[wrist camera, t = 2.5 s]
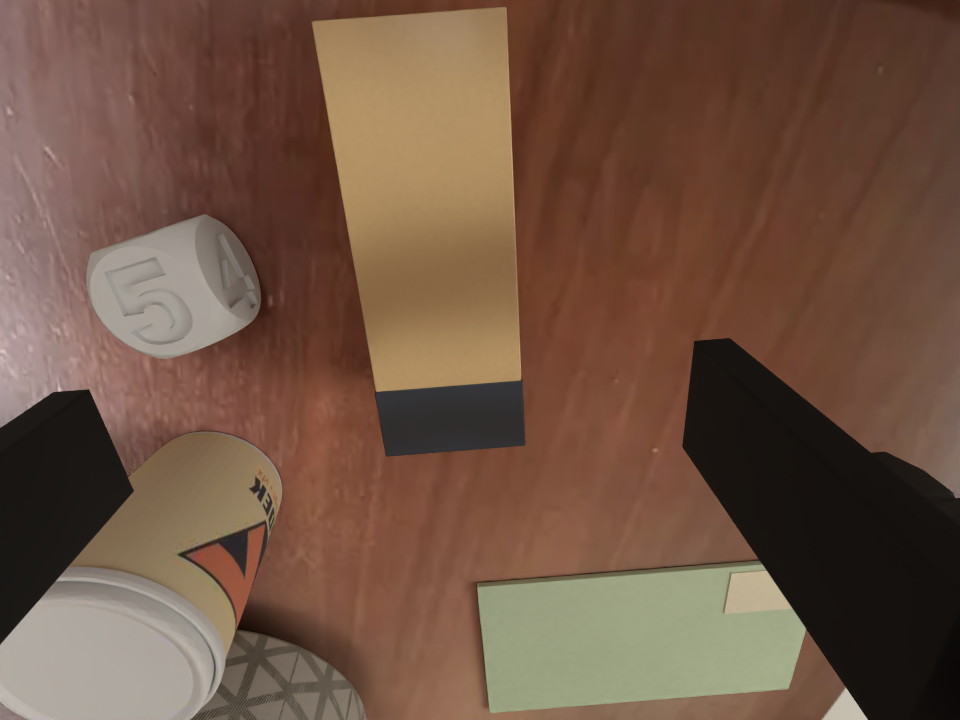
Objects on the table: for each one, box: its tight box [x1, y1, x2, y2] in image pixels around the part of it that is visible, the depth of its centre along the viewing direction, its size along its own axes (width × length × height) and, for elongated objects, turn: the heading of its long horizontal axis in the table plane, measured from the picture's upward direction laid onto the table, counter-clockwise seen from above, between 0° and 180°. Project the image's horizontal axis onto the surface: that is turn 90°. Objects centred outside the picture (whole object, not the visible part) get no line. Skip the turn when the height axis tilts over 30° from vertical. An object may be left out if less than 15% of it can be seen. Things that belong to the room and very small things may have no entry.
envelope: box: [477, 561, 806, 713], centre depth 39 cm, size 24×14×1 cm, turn 94°
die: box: [86, 214, 261, 359], centre depth 24 cm, size 5×5×5 cm
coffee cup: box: [0, 431, 282, 720], centre depth 26 cm, size 9×9×12 cm
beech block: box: [312, 7, 525, 456], centre depth 22 cm, size 16×6×7 cm, turn 4°
